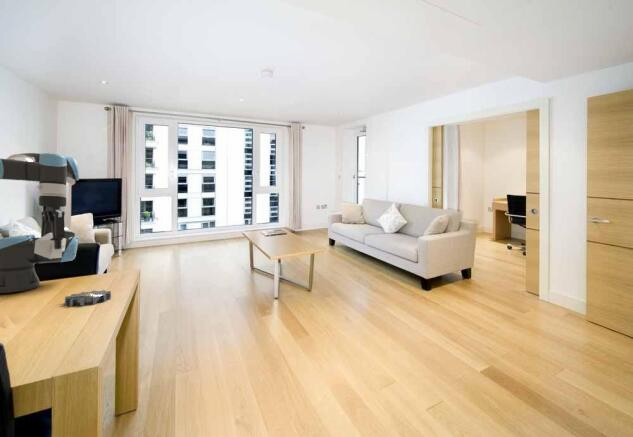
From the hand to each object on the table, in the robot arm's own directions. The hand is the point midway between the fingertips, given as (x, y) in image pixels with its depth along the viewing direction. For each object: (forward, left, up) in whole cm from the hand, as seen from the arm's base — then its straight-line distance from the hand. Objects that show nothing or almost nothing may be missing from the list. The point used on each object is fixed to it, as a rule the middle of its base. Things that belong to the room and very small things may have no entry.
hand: (52, 257), depth 106 cm
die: (0, 0, -1) cm, 1 cm away
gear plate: (0, +11, -19) cm, 22 cm away
